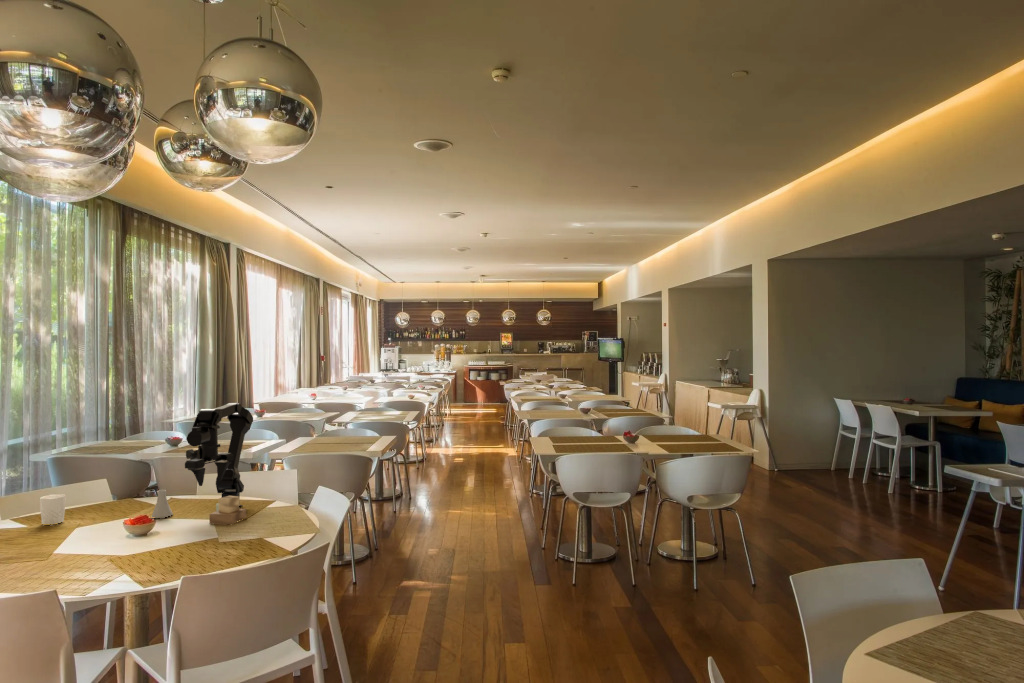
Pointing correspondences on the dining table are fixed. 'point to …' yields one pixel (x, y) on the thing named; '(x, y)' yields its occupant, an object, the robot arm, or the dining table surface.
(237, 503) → the oak cube
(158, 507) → the flask
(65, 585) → the dining table surface
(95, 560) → the dining table surface
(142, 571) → the dining table surface
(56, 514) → the white cup
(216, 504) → the block
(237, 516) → the base block
